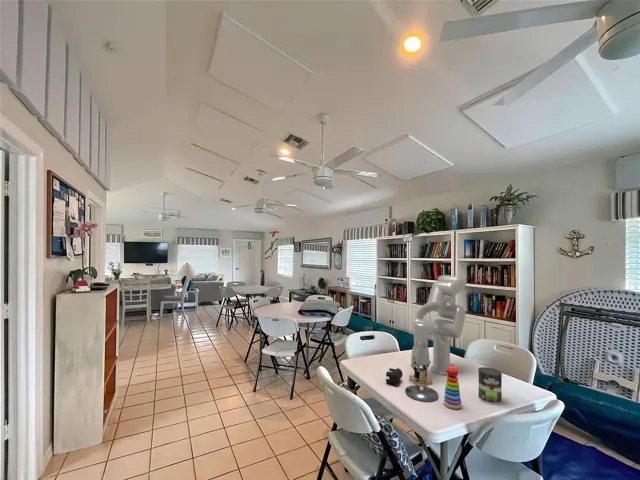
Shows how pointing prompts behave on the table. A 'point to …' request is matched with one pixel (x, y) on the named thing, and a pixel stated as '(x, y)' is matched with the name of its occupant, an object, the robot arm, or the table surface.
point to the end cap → (393, 376)
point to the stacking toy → (452, 389)
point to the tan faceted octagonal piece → (421, 378)
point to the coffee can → (490, 385)
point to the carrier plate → (421, 393)
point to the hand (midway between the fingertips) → (420, 376)
